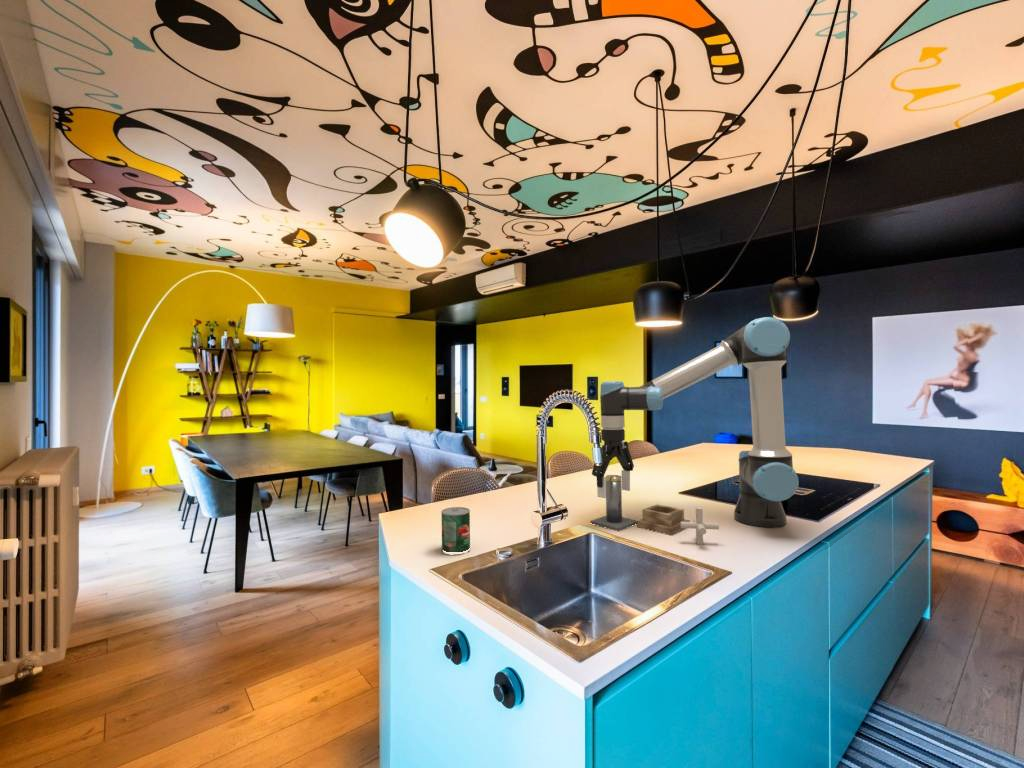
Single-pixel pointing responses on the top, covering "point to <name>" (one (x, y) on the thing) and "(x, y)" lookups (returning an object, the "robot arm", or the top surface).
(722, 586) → the top surface
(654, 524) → the block
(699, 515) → the pipe connector
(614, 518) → the peg
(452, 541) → the canned tomato
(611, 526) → the pad
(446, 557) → the top surface
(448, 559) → the top surface
